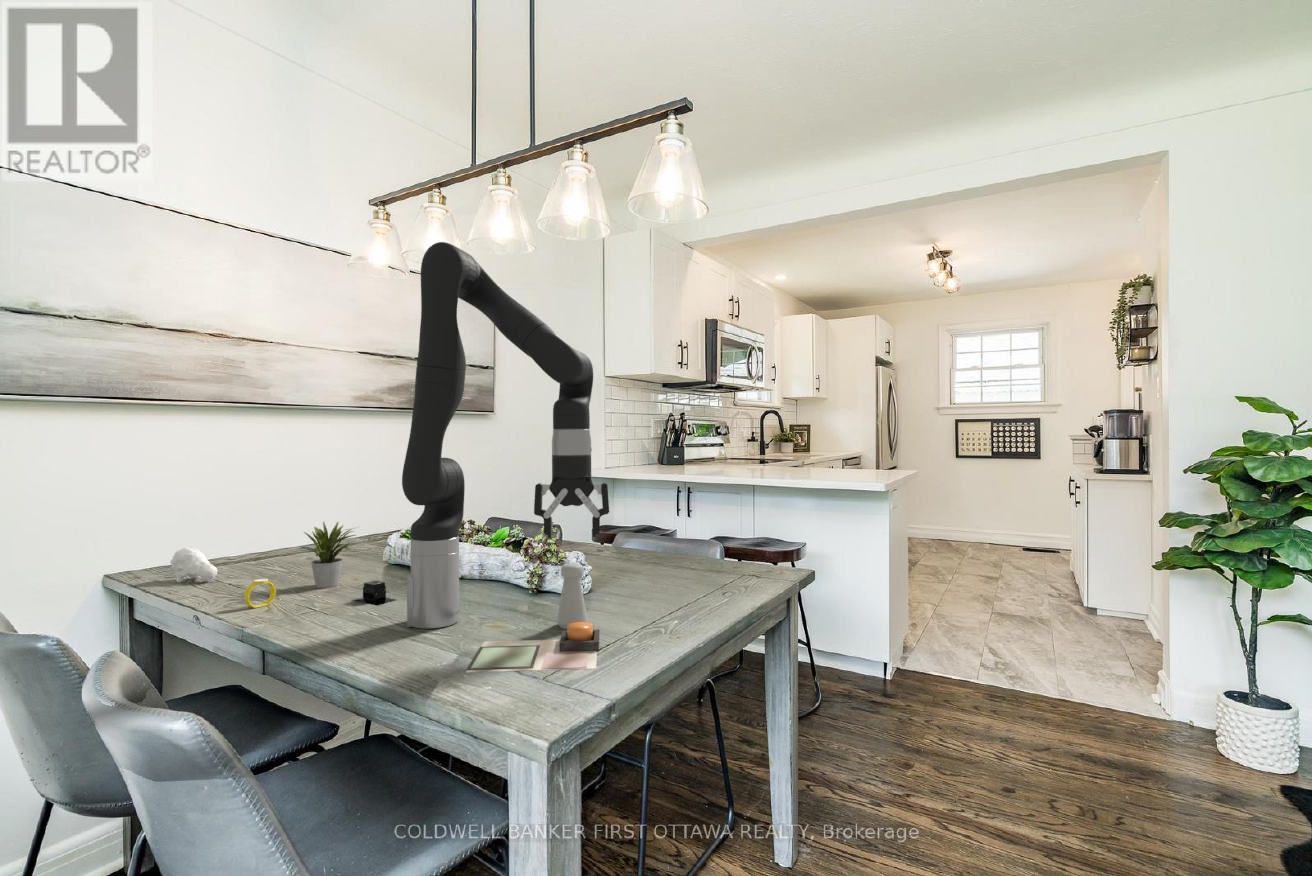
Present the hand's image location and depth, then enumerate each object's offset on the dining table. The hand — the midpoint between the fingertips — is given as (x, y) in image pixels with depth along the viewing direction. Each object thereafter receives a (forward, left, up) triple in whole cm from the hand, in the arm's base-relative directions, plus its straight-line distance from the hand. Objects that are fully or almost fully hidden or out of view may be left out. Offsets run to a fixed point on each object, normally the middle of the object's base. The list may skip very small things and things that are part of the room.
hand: (572, 537), depth 115 cm
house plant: (-63, +40, -18) cm, 77 cm away
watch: (-70, +23, -19) cm, 76 cm away
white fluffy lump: (-100, +49, -19) cm, 113 cm away
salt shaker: (0, 0, -18) cm, 18 cm away
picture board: (-5, -15, -18) cm, 24 cm away
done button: (+2, -11, -16) cm, 19 cm away
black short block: (-47, +26, -19) cm, 57 cm away
